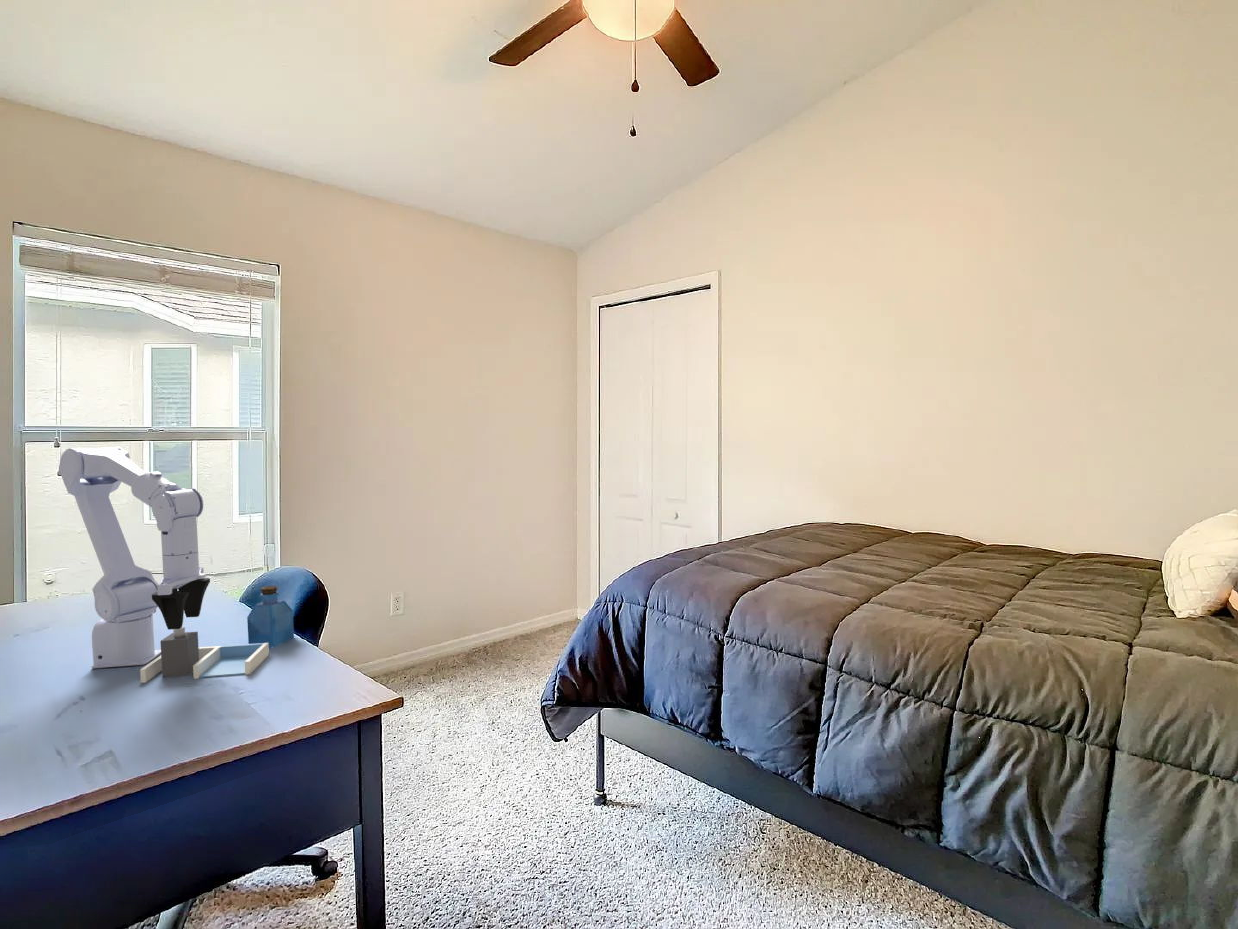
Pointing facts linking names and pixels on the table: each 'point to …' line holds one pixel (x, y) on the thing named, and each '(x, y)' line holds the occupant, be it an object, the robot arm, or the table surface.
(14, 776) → the table surface
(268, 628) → the perfume bottle
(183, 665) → the plug
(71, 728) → the table surface
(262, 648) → the two-rail blue tray
